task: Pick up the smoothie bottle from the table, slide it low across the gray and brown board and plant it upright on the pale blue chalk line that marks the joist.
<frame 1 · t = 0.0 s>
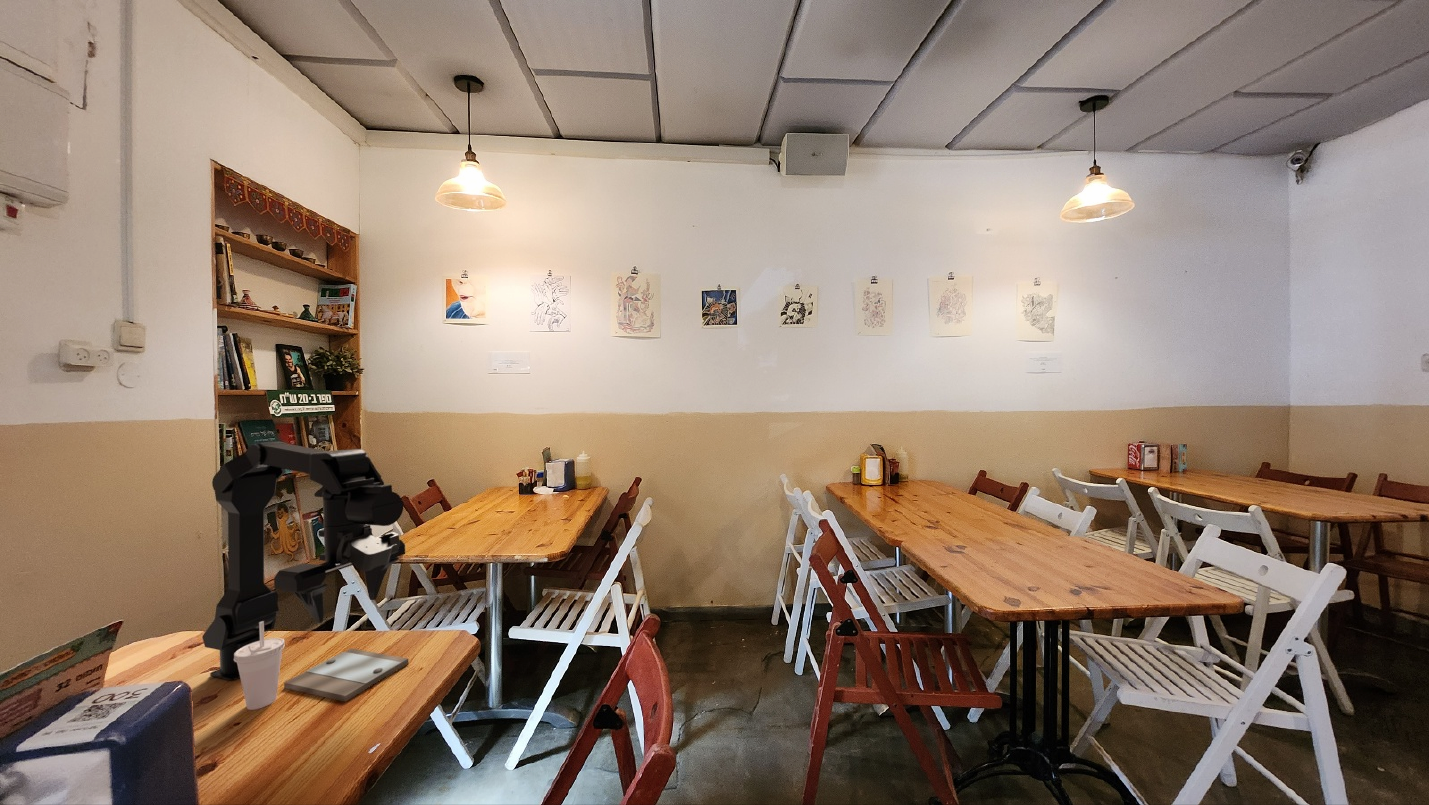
hand: (347, 610, 85), 15 cm above the table, tool pointing down, fingers open, 9 cm apart
gray and brown board: (348, 675, 90), on the table
smoothie: (261, 703, 83), on the table
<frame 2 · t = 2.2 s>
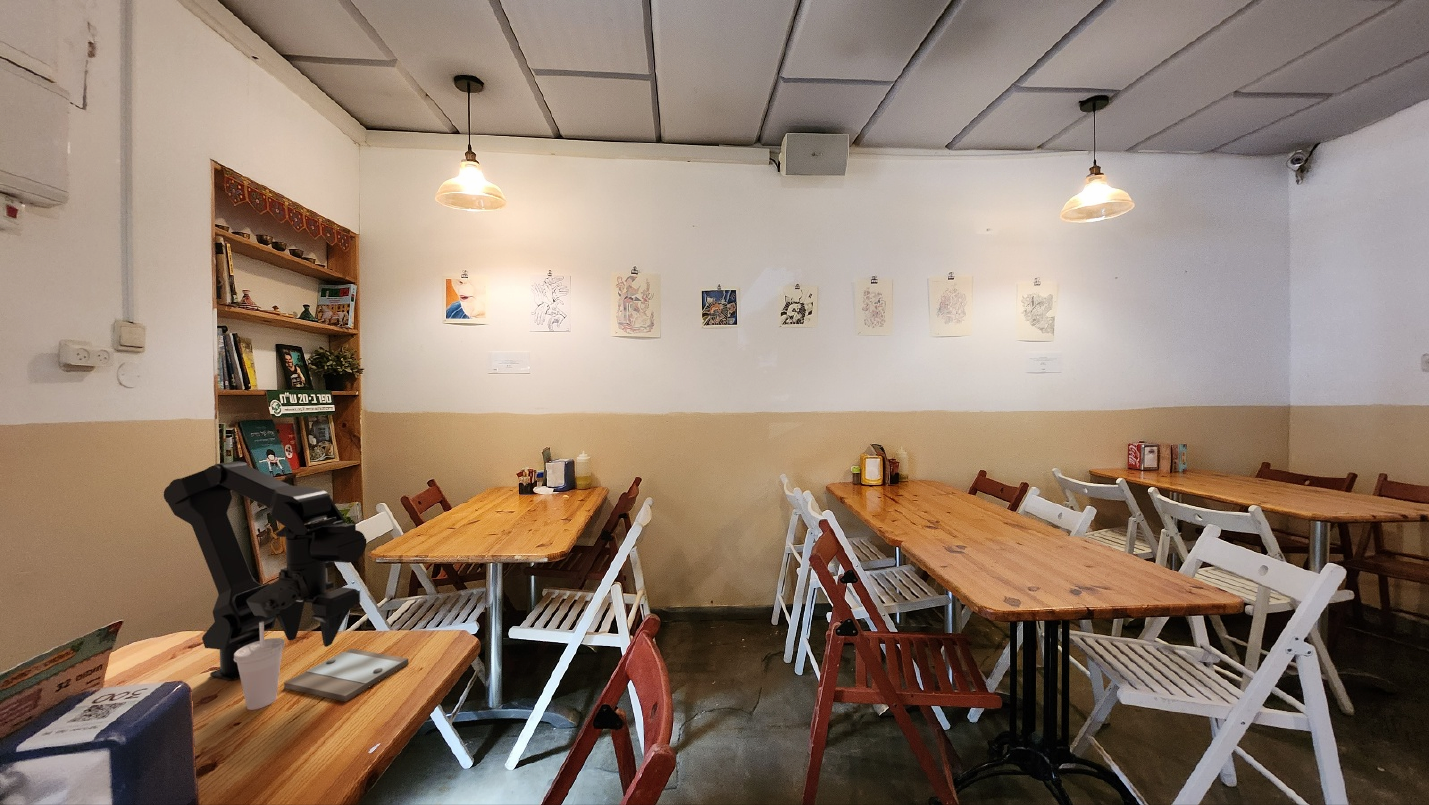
hand: (309, 642, 90), 6 cm above the table, tool pointing down, fingers open, 9 cm apart
nothing on the table moved.
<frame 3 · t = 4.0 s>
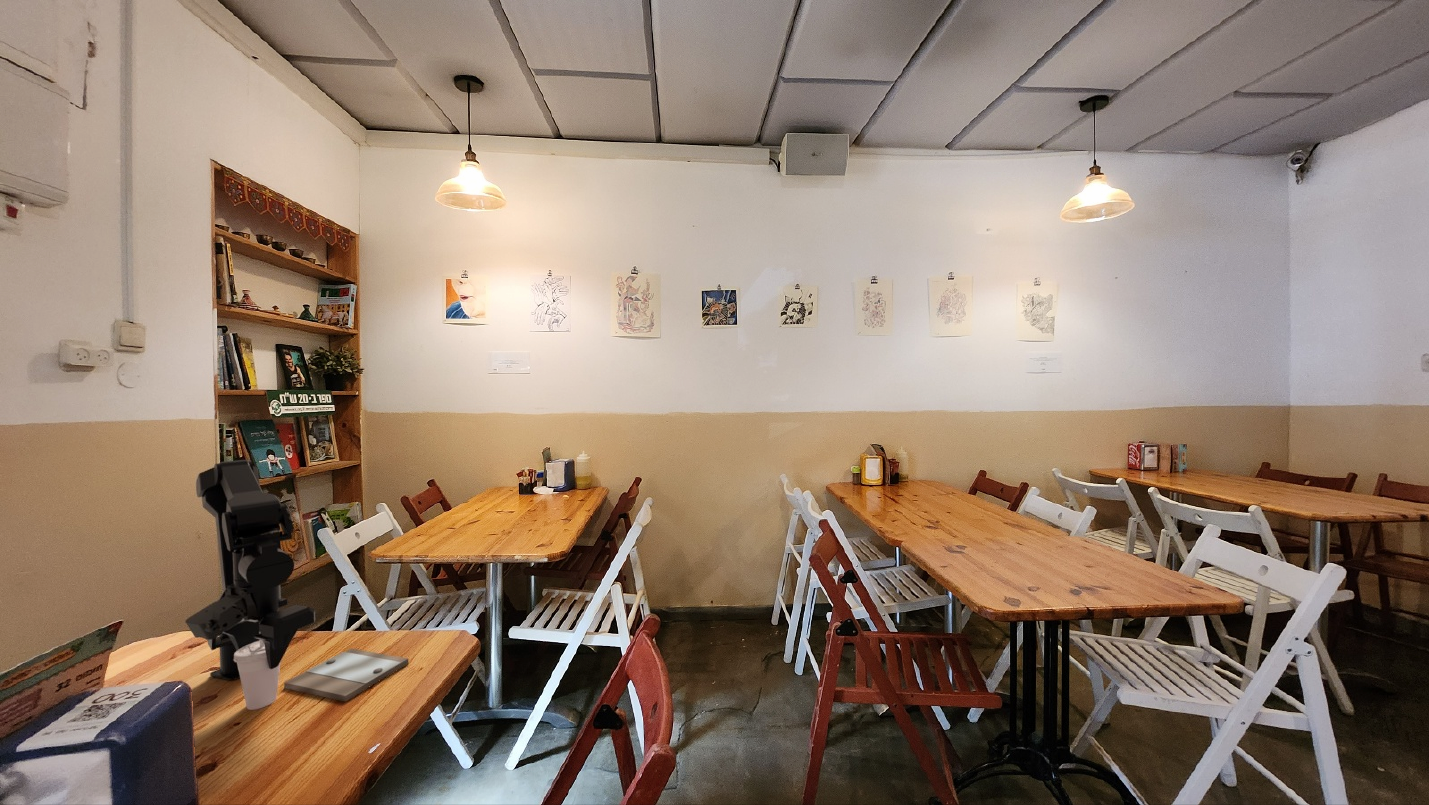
hand: (260, 665, 83), 7 cm above the table, tool pointing down, fingers closed on smoothie, 6 cm apart
smoothie: (261, 703, 83), on the table, touching gripper
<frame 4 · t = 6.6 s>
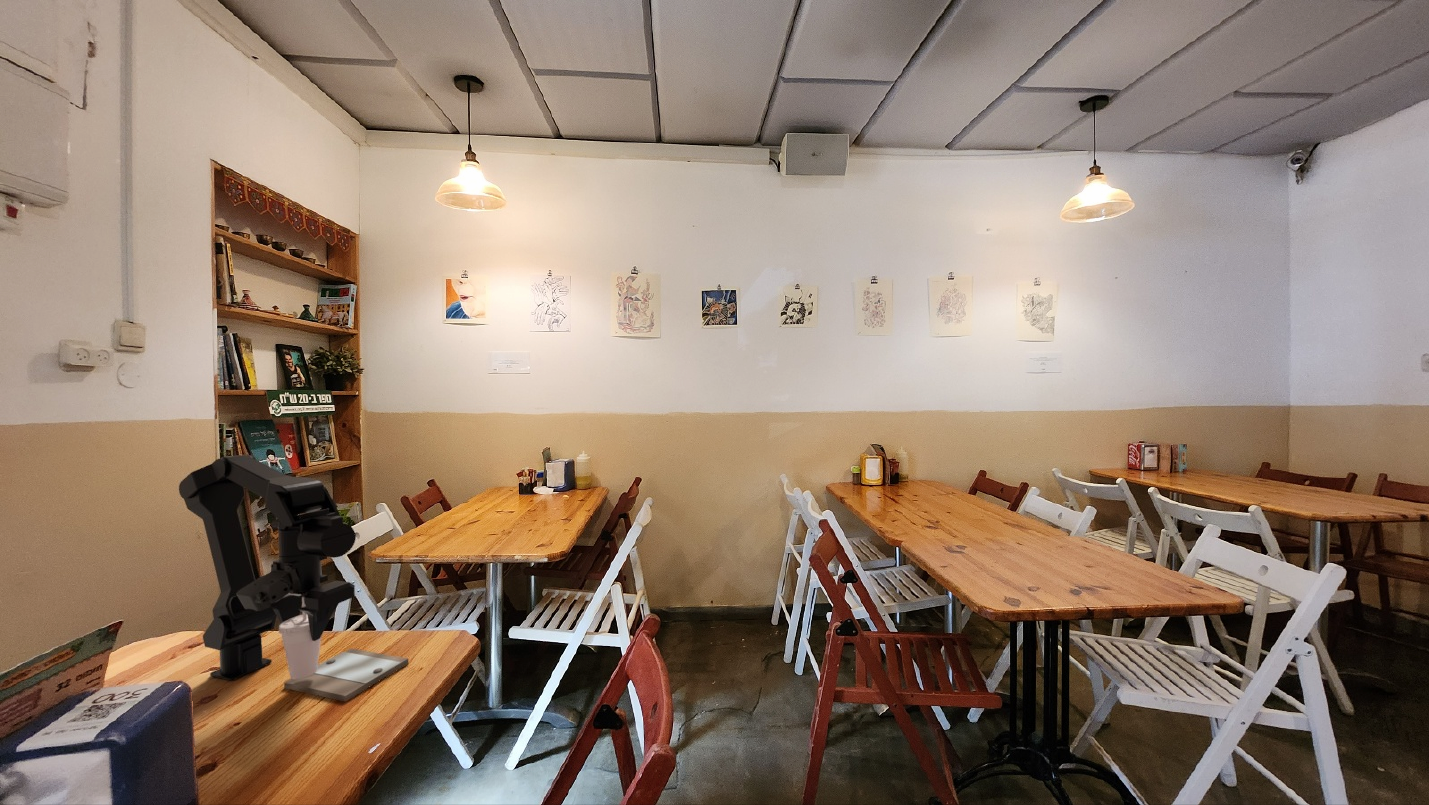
hand: (303, 637, 87), 9 cm above the table, tool pointing down, fingers closed on smoothie, 6 cm apart
smoothie: (304, 674, 87), point 2 cm above the table, touching gripper
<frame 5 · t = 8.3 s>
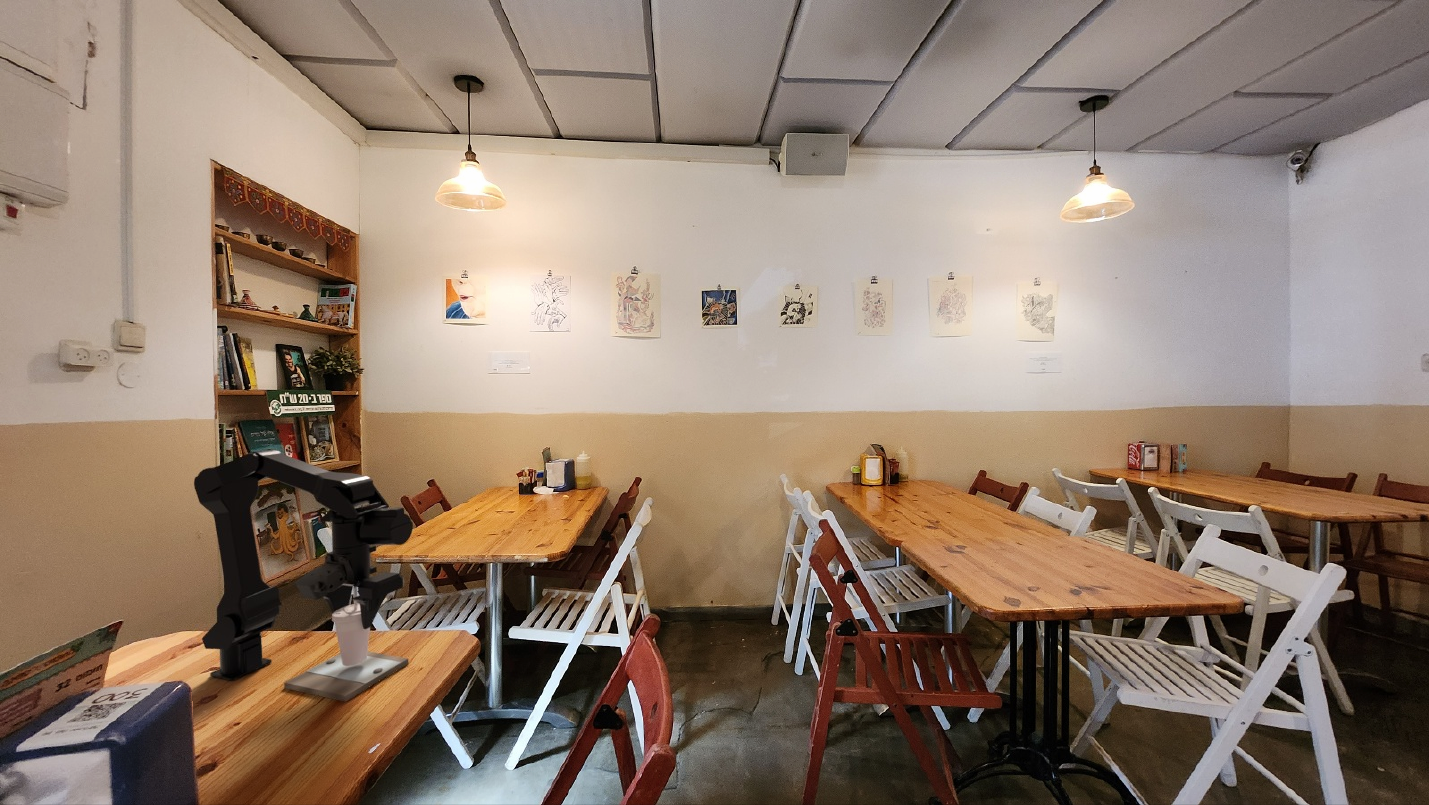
hand: (353, 626, 91), 9 cm above the table, tool pointing down, fingers closed on smoothie, 6 cm apart
smoothie: (354, 661, 91), point 2 cm above the table, touching gripper
when the fingers open (8 cm above the table, at t = 9.4 s): smoothie stays where it is, resting on gray and brown board.
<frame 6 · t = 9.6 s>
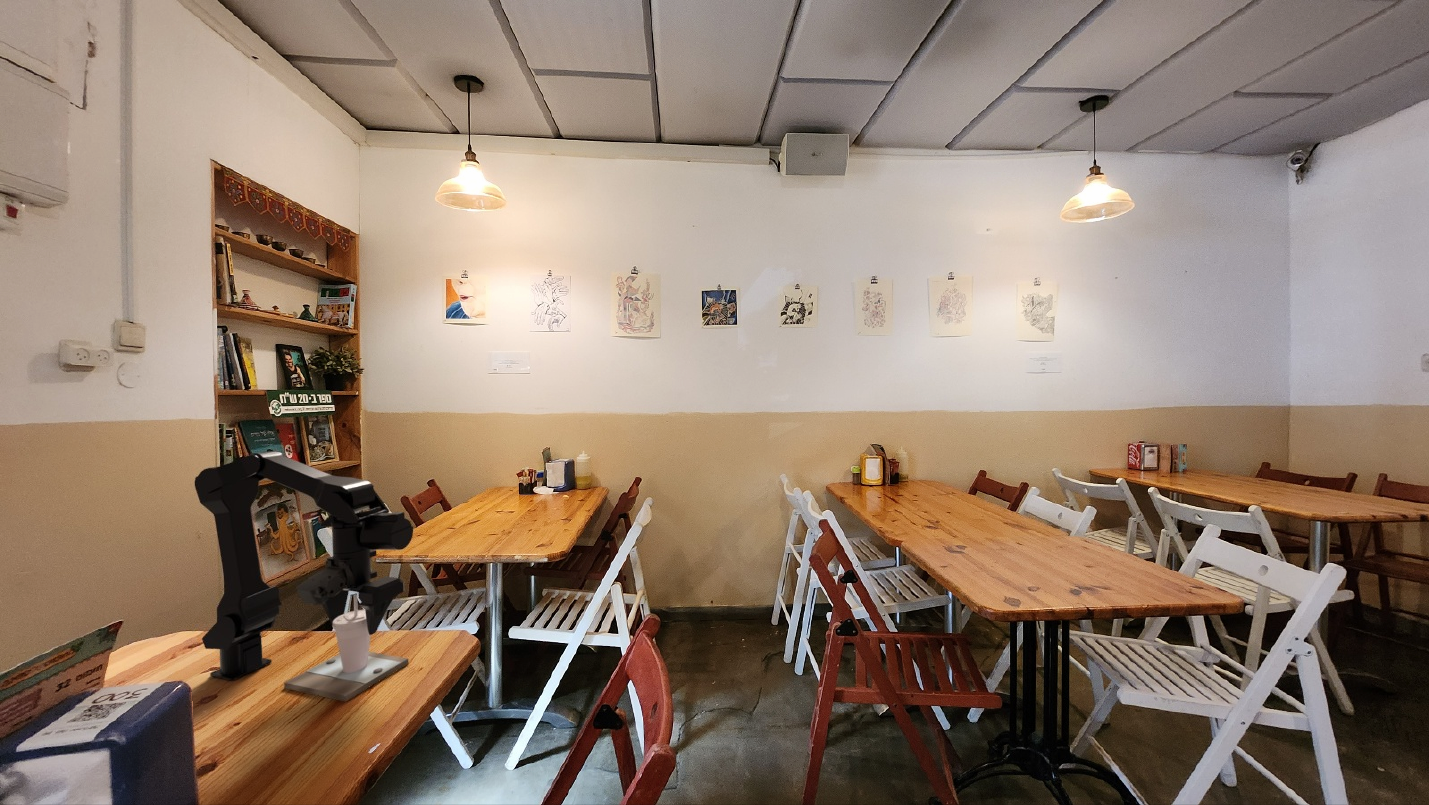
hand: (354, 631, 91), 8 cm above the table, tool pointing down, fingers open, 9 cm apart
smoothie: (355, 668, 91), point 1 cm above the table, touching gray and brown board
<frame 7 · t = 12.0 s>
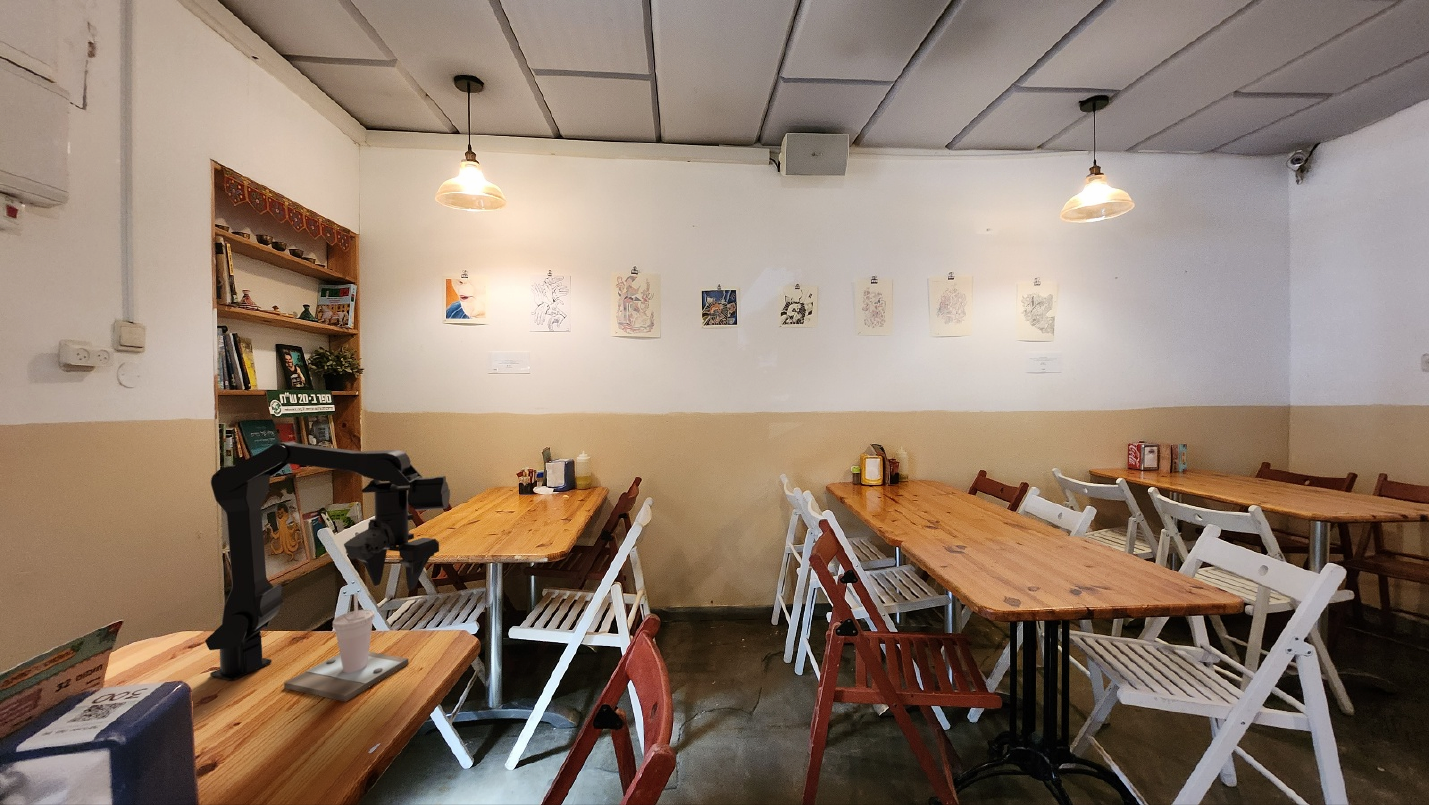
hand: (393, 587, 99), 13 cm above the table, tool pointing down, fingers open, 9 cm apart
nothing on the table moved.
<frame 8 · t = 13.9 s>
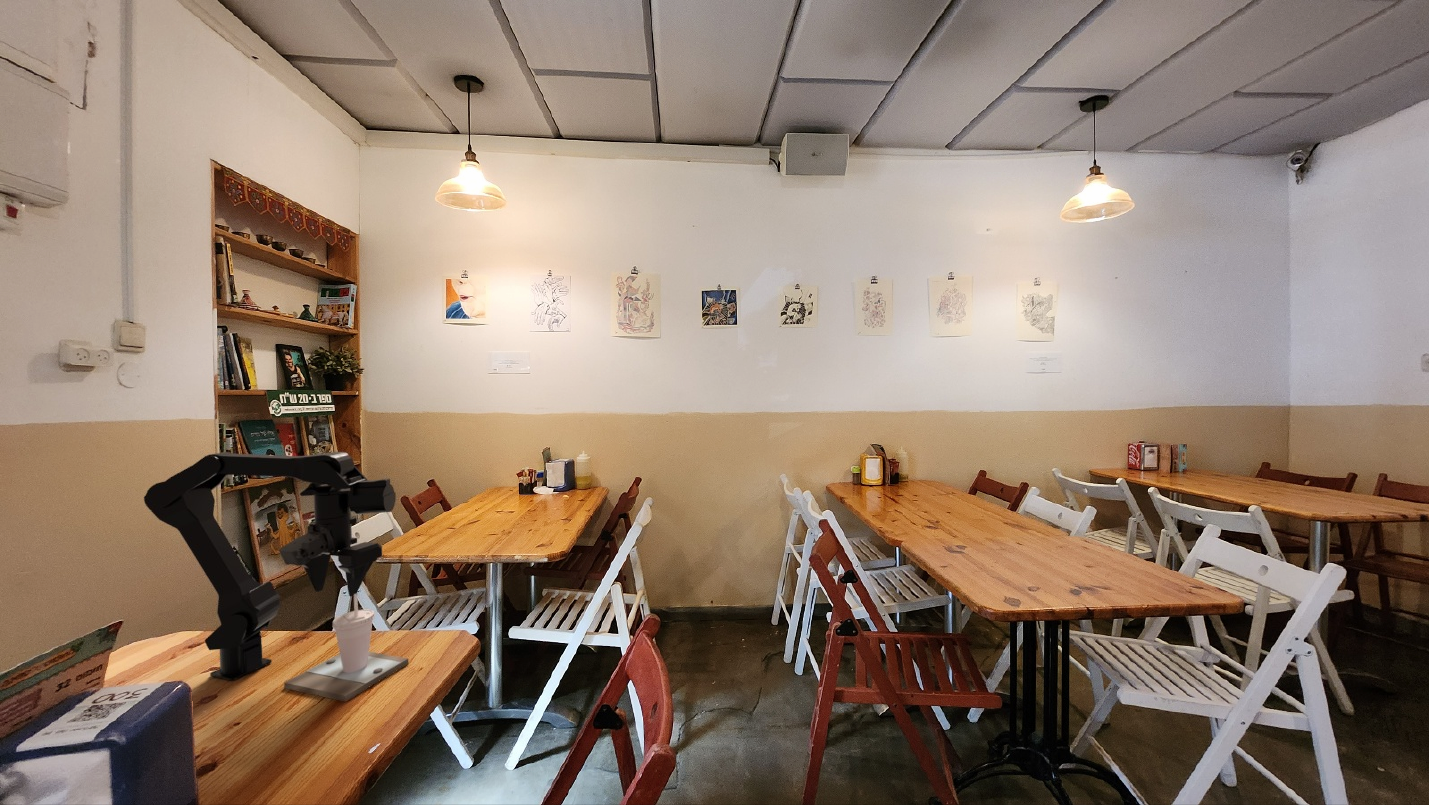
hand: (335, 593, 96), 13 cm above the table, tool pointing down, fingers open, 9 cm apart
nothing on the table moved.
at the end: smoothie 0.1 cm from the target spot, point 0.9 cm above the table; smoothie tilted 0°; the gripper is holding nothing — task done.
